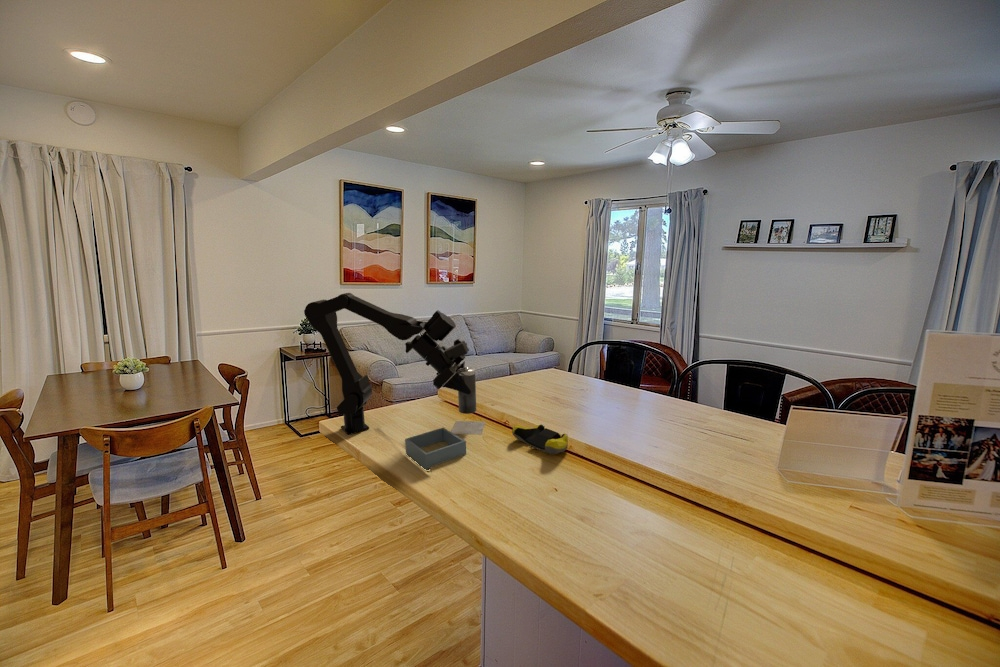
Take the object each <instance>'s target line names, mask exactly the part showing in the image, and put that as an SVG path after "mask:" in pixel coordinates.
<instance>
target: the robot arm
mask: <svg viewBox="0 0 1000 667" xmlns="http://www.w3.org/2000/svg"><path fill="white" fill-rule="evenodd" d="M342 310H347V311H349V312H352V313H353V314H356V315H357V316H360V317H362V318H365V319H366V320H369V321H371V322H373V323H375V324H378V325H380V326H381V327H382V328H384V329H385V330H386V331H387V332H388V333H389V334H391V335H392V336H393V337H395V338H396V339H398V340H401V341H406V340H409V339H411V338H412V337H414V336H415V337H414V338H413V339H412V340H410V341H406V342H405V344H404V345H405V353H406V354H408V353H410V351H412V350H413V351H415V352H416V353H417V354H418V355H419V356H420V357H421V358H422V359H423V360H424V361H425V365H426V366H427V367H428V366H430V367H432V368H433V369H434V370H435V371H436V375H435V377H434V378H433V380H432V382H433V383H432V384H433V386H434V387H435V388H436V389H437V390H440V389H441V388H446V389H450V390H453V391H456V392H458V391H460V392H462V393H465V394H470V393H471V390H470V389H469V388H468V386H467V385H466V384H465V383H464V381H463V380H462V379H461V378H460V373H459V370H458V369H460V368H464V367H466V365H465V364H466V362H465V361H464V360H465V359H466V356H465V355H467V354H469V353H468V352H470V349H469V347H468V343H467V342H465V340H462V339H460V338H458V339H455V340H454V341H453V345H451V346H450V347H448V348H447V347H446V346H445V345H442V346H441V345H440V344H438V343H437V342H438V341H441V342H442V341H444V340H445V338H447V336H448V335H450V333H451V332H453V330H454V329H456V327H457V325H456V323H455V322H454V320H453V319H452V318H451V317H450V316H448V315H447V314H445V313H442V312H441V311H440V310H438V309H437V310H435V312H434V313H433V314H432V316H431V317H430V318H429V319H428V320H427V321H422V320H417V319H416V318H415V317H413V316H410V315H405V314H403V313H402V314H401V313H396V312H391V311H389V310H387V309H384V308H382V307H380V306H377V305H376V304H373V303H371V302H369V301H366V300H365V299H362V298H360V297H358V296H356V295H354V294H353V293H351V292H346V293H345V292H344V293H342V294H338V296H335V297H333V298H330V299H320V300H315V301H312V302H309V303H308V304H307V305H306V306H305V308H304V310H303V312H304V316H305V318H306V319H307V321H308V324H310V326H311V327H312V328H313V329H315V331H317V333H319V334H320V335H321V338H322V340H323V342H324V344H325V347H326V349H327V350H328V352H329V355H330V357H331V360H332V361H333V363H334V366H335V369H336V371H337V372H338V375H339V377H340V378H341V379H340V380H341V392H342V396H343V400H342V401H341V402H340V403H339V404H338V405H337V407H336V409H337V412H338V414H340V415H343V423H344V424H343V425H341V426H340V429H341V428H342V429H343V430H344V431H345V432H346V433H345V432H344V433H345V434H347V435H351V434H350V433H352V434H354V433H353V432H356V433H358V432H357V431H359V432H362V430H363V431H366V429H367V430H369V429H370V426H369V425H368V424H366V423H365V421H366V420H365V412H364V411H365V410H364V406H365V405H367V403H368V400H369V399H371V397H372V395H373V389H372V388H373V385H372V384H371V382H370V379H369V376H368V374H365V375H364V376H363V375H361V374H360V373H359V372H358V370H357V367H356V366H355V363H354V362H353V359H352V358H351V355H350V352H349V350H348V348H347V345H346V344H345V342H344V339H343V337H342V334H341V332H340V331H339V328H338V314H337V312H339V311H342ZM422 332H424V333H423V334H422V335H419V334H420V333H422ZM457 370H458V371H457ZM343 430H342V431H343Z"/></svg>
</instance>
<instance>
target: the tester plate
mask: <svg viewBox="0 0 1000 667" xmlns="http://www.w3.org/2000/svg"><path fill="white" fill-rule="evenodd" d="M486 422H487V421H477V420H476V421H474V420H473V421H472V420H471V421H469V420H456V421H455V422H454V424H453V426H452V428H451V430H450V432H452V433H453V434H455V435H483V431H484V428H485V425H486Z"/></svg>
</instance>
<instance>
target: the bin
mask: <svg viewBox="0 0 1000 667" xmlns="http://www.w3.org/2000/svg"><path fill="white" fill-rule="evenodd" d="M440 442H445V443H446V444H448V445H447V446H443V447H441V448H437V449H434V450H432V451H428V452H426V451H425V450H423V449H422V448H424V447H428V446H430V445H431V446H432V445H434V444H437V443H440ZM404 445H405V455H406V454H407V455H408V456H409V457H411V458H412V459H413V460H414V461H416V462H417V463H418V464H419V465H420V466H422V467H423V468H424V469H426V470H429V469H431V468H430V467H434V466H436V465H439V464H442V463H445V462H448V461H450V460H453V459H456V458H459V457H462V456H464V455H467V441H466V440H465V439H464V438H462V437H460V436H458V434H453V433H452V432H451V430H449V429H446V428H445V427H441V428H436V429H433V430H430V431H427V432H424V433H421V434H416V435H413V436H410V437H407V438H405V440H404ZM407 455H406V456H407ZM408 456H407V457H408ZM409 457H408V458H409ZM412 459H411V460H412ZM413 460H412V461H413ZM414 461H413V462H414ZM417 463H416V464H417ZM418 464H417V465H418ZM419 465H418V466H419ZM420 466H419V467H420ZM423 468H422V469H423ZM424 469H423V470H424Z"/></svg>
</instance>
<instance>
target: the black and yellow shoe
mask: <svg viewBox="0 0 1000 667" xmlns="http://www.w3.org/2000/svg"><path fill="white" fill-rule="evenodd" d="M511 432H512V435H513V437H515V438H516V440H518V441H520V442H522V443H524V444H526V445H528V446H529V447H531V448H532V449H537V450H538V451H542V453H547V454H550V455H556V454H559V453H560V454H561V453H563V452H565V451H566V450H567V449H568V444H569V443H568V440H569V439H568V438H569V434H568V433H562V434H561V435H560V433H559V432H557V431H554V430H552V429H549V428H545V425H544V424H538V425H536V426H535V427H533V428H530V427H527V426H523V425H514V426H513V428H512V431H511Z"/></svg>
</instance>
